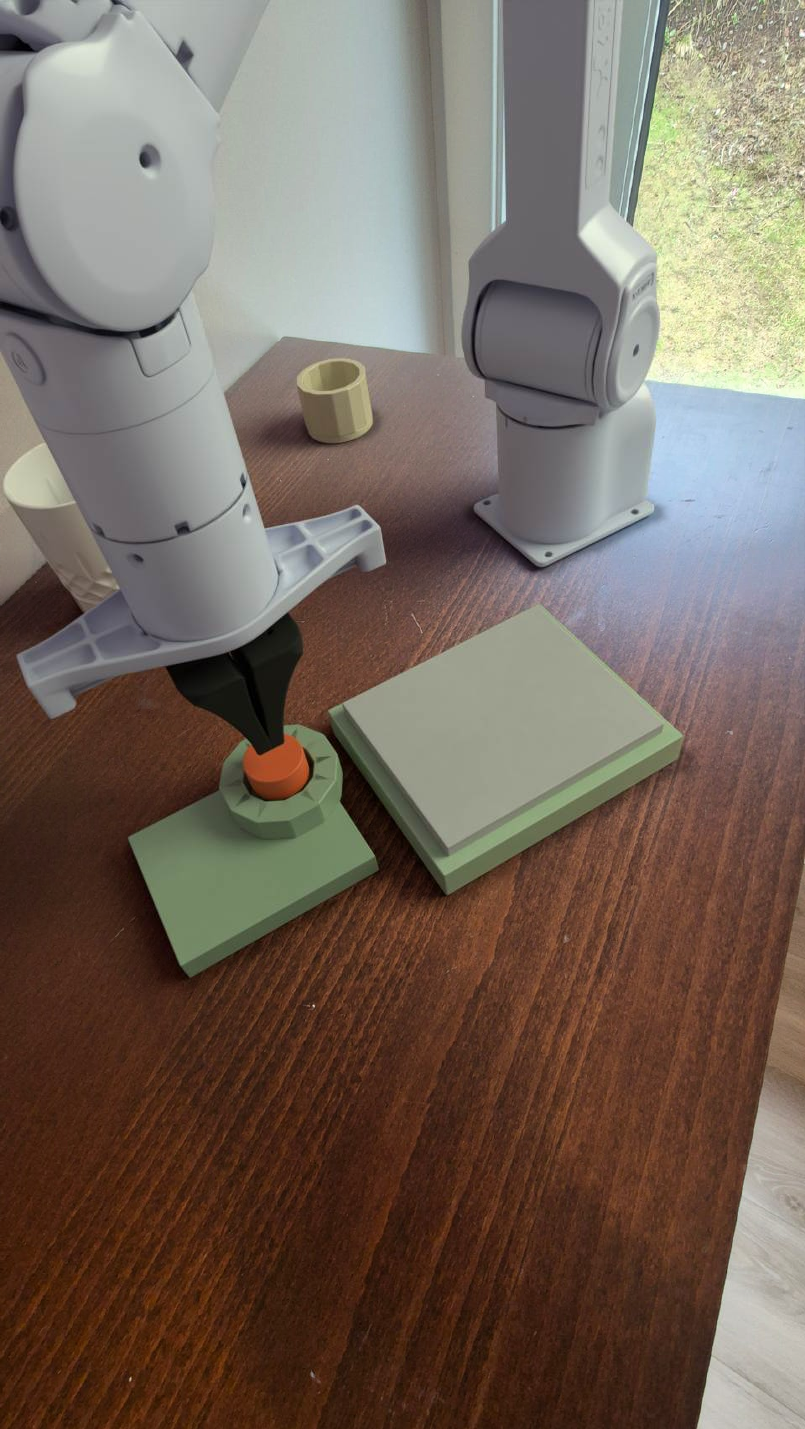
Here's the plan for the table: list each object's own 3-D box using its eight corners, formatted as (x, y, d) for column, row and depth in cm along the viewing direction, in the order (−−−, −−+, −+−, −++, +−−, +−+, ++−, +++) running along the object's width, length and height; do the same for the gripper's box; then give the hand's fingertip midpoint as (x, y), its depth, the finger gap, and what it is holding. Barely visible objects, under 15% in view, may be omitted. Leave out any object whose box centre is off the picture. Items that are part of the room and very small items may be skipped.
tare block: (317, 742, 45) (305, 707, 43) (396, 860, 40) (388, 828, 38) (131, 837, 43) (109, 806, 40) (189, 978, 37) (167, 951, 35)
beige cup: (353, 399, 69) (345, 350, 65) (385, 427, 65) (378, 377, 62) (296, 422, 67) (284, 374, 64) (325, 452, 64) (315, 402, 61)
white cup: (162, 638, 52) (99, 509, 45) (54, 631, 54) (-25, 506, 46) (204, 558, 57) (155, 429, 49) (104, 554, 59) (41, 429, 51)
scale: (538, 627, 49) (539, 592, 47) (678, 759, 42) (686, 725, 40) (333, 733, 46) (323, 700, 43) (446, 896, 38) (442, 867, 36)
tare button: (294, 742, 42) (287, 723, 41) (319, 781, 40) (313, 763, 39) (241, 769, 41) (233, 750, 40) (264, 810, 40) (256, 792, 38)
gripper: (304, 374, 32) (359, 622, 42) (-64, 517, 29) (93, 750, 39) (392, 451, 28) (428, 707, 38) (-27, 631, 24) (138, 859, 35)
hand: (263, 735), depth 38 cm, fingers closed
